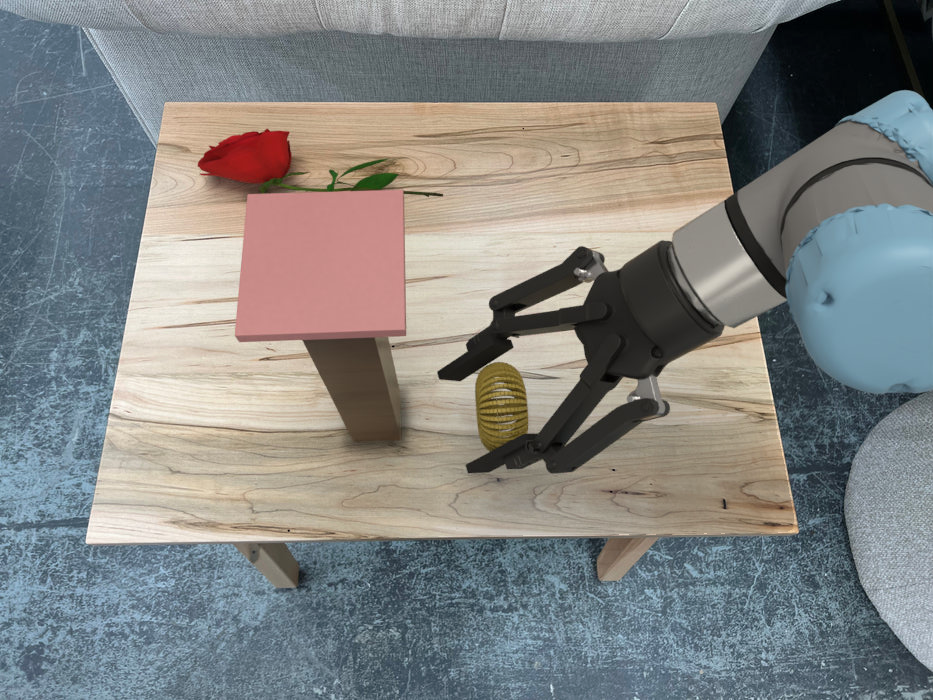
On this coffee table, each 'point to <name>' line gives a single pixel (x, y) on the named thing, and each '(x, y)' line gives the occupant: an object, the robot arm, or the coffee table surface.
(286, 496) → the coffee table surface
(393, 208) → the rose shelf
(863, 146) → the robot arm
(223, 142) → the flower
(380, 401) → the stand post
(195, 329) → the coffee table surface
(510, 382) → the sculpture
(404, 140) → the coffee table surface
